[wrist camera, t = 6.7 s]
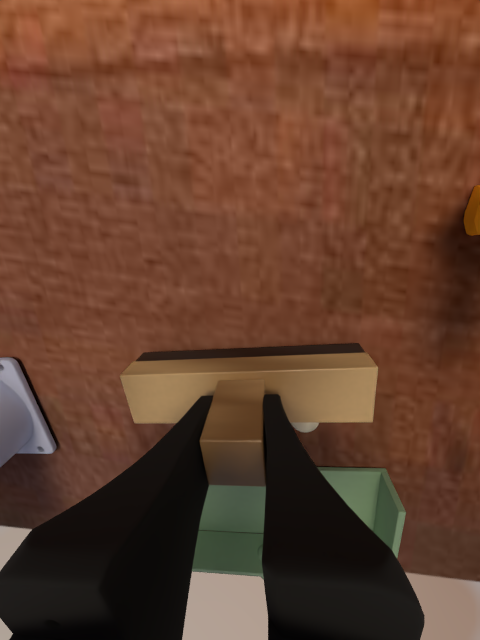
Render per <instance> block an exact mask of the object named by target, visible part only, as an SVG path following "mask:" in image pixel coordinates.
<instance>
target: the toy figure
mask: <svg viewBox="0 0 480 640" xmlns="http://www.w3.org/2000/svg"><path fill="white" fill-rule="evenodd" d="M464 225H465V230H466V234H468V235H471V236H472V235H480V185H477V186H474V189H473V192H472V194H471V197H470V200H469V202H468V205H467V208H466V211H465V215H464Z"/></svg>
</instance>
